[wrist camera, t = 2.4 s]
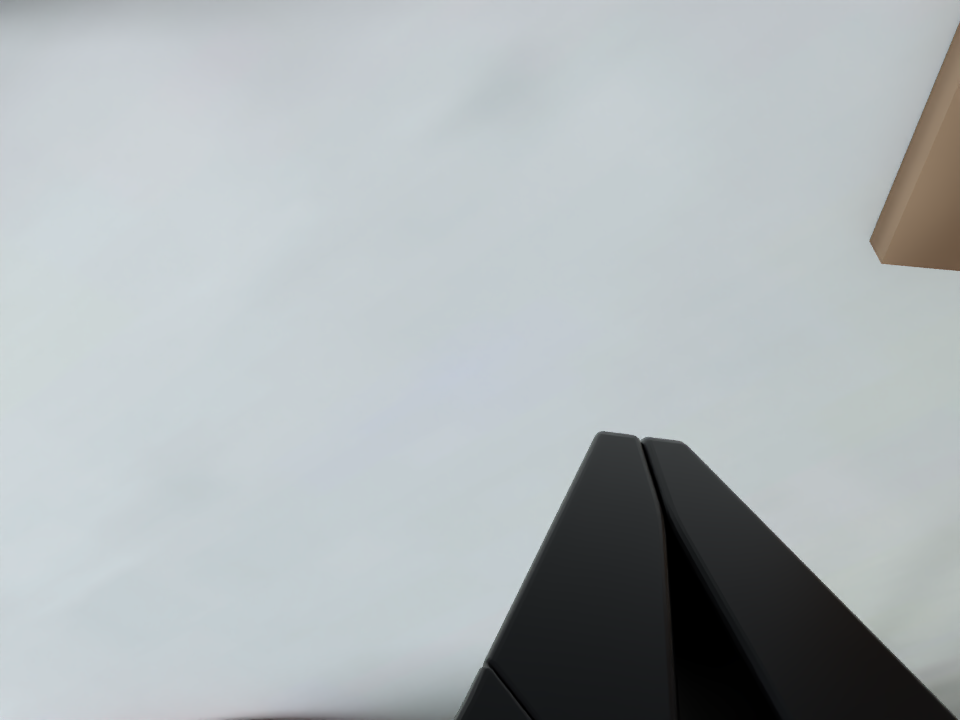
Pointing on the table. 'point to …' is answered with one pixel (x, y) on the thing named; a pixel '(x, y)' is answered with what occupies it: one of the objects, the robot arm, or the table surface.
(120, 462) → the table surface
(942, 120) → the level stand
